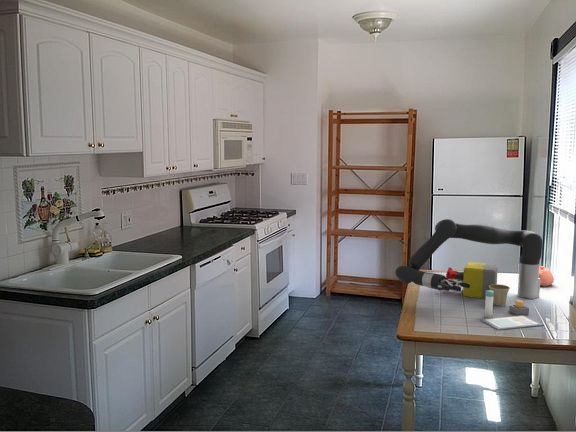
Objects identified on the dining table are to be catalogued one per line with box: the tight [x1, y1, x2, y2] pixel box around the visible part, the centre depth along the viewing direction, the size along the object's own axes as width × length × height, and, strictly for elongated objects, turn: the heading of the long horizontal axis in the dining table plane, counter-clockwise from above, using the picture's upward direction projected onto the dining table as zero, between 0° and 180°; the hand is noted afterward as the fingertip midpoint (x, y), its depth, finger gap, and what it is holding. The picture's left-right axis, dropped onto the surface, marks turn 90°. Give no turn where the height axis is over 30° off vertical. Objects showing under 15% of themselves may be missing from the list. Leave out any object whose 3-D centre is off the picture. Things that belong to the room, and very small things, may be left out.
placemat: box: [480, 315, 544, 331], centre depth 238 cm, size 22×13×1 cm, turn 103°
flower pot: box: [489, 283, 511, 307], centre depth 264 cm, size 9×9×9 cm
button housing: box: [508, 304, 530, 316], centre depth 251 cm, size 6×6×3 cm
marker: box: [484, 290, 494, 319], centre depth 245 cm, size 3×3×12 cm
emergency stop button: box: [445, 261, 499, 300], centre depth 283 cm, size 15×24×15 cm, turn 65°
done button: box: [514, 299, 525, 308], centre depth 251 cm, size 4×4×4 cm
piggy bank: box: [539, 265, 555, 288], centre depth 298 cm, size 12×14×10 cm
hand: (465, 287), depth 252 cm, fingers open, 8 cm apart
